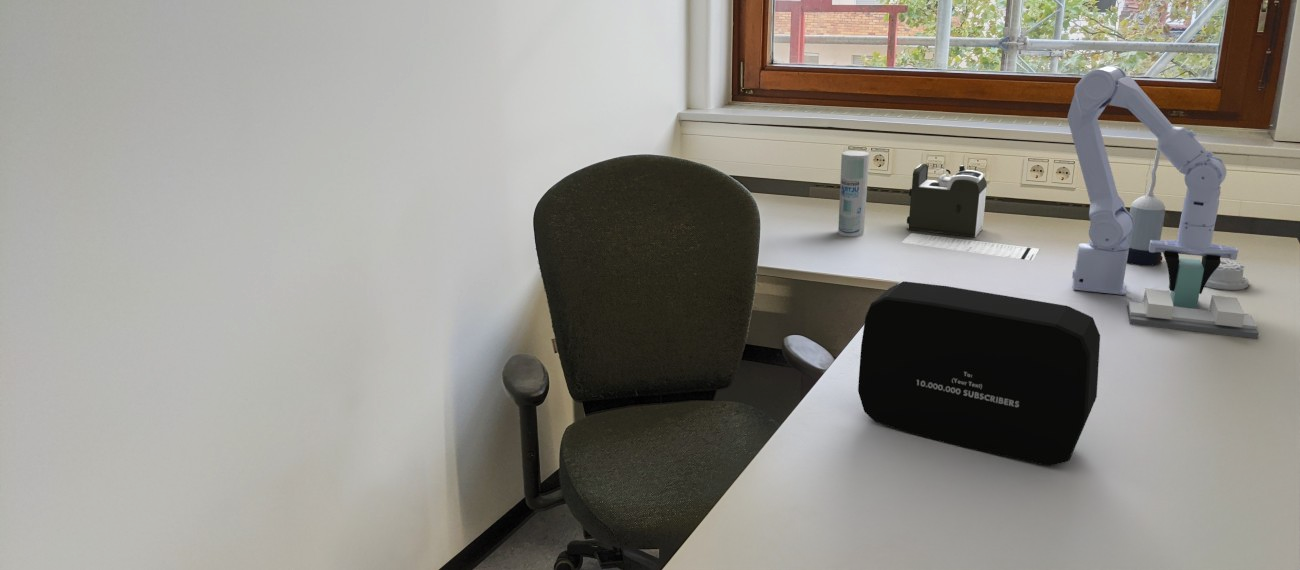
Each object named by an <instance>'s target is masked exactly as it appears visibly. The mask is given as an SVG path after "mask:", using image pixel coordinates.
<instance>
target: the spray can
mask: <svg viewBox="0 0 1300 570" xmlns="http://www.w3.org/2000/svg"><path fill="white" fill-rule="evenodd" d="M840 162H841V163H840V181H839V182H840V185H839V186H840V187H839V206H838V208H839V209H838V229H837V231H838V234H839V235H840V236H845V237H851V238H852V237H853V238H854V237H860V236H861V237H862V236H863V235H864V233H865V222H866V208H867V193H868V178H869V163H870V153H869V152H867V151H864V150H863V151H862V150H846V151H843V152H842V153H841V161H840Z"/></svg>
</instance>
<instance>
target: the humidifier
mask: <svg viewBox="0 0 1300 570" xmlns="http://www.w3.org/2000/svg"><path fill="white" fill-rule="evenodd" d="M1152 153H1153V151H1151V152H1150V156H1152ZM1160 155H1161V151H1160V150H1159V149H1158V148H1156V152H1155V158H1154V160H1153V166H1152V169H1151V163H1149V165H1148V166H1149V168H1148V171H1147V174H1146V176H1148V175H1149V173H1150V175H1151V176H1150V178H1151V179H1150V180H1151V181H1150V185H1149V189H1148V191H1147V186H1148V180H1146V181H1145V182H1146V183H1145V190H1144V195H1142V196H1140V197H1138V198H1136V199H1135V200H1134V201H1133V202H1132V203H1131V206H1130V209H1129V213H1130V214H1131V215H1132V217H1133V219H1134V224H1135V225H1134V229H1133V231H1132V233H1131V234H1130V235H1129V236H1127V241H1128V243H1129V245H1130V246H1129V252H1128V258H1127V264H1130V265H1135V266H1142V267H1143V266H1145V267H1151V266H1152V267H1154V266H1157V265H1160V264H1161V261H1163V260H1164V259H1163V257H1164V256H1163V255H1162V253H1163V252H1155V253H1153V252H1149V244H1150V240H1156V241H1161V239H1162V238H1161V237H1162V232H1163V227H1164V220H1165V214H1166V206H1165V204H1164V202H1163V201H1162V200H1161V199H1160V198H1158V197H1157V196H1155V194H1154V191H1155V190H1154V189H1155V187H1156V183H1157V173H1156V172H1157V169H1158V165H1159V160H1160ZM1151 160H1152V157H1150V158H1149V162H1151ZM1150 169H1151V172H1150Z"/></svg>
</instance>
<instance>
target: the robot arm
mask: <svg viewBox="0 0 1300 570" xmlns="http://www.w3.org/2000/svg"><path fill="white" fill-rule="evenodd" d="M1108 105H1109V106H1113V107H1119V108H1124V109H1127V110H1129V112H1131V113H1132V114H1133V116H1135V117H1136V118H1137V120H1139V121H1140V122H1141V123H1142V124H1143V125H1144V126H1145V127H1146V128H1147V130H1149V131H1150V132H1151V133H1152V134H1153V135H1154V136H1155V137H1156V138H1157V146H1156V147H1157V148H1158V149H1159V150H1160V154H1161V153H1162V155H1163V156H1164V157H1165V158H1166V159H1167V160H1168V161H1169V162H1170V163H1171V165H1172V166H1173V167H1174V168H1175V169H1176V170H1177V171H1178V172H1179V173H1180V174H1183V175H1184V183H1185V186H1186V192H1185V197H1183V202H1182V203H1183V204H1182V209H1181V213H1180V214H1181V216H1180V219H1179V220H1180V221H1179V226H1178V231H1177V232H1178V233H1177V238H1176V240H1160V241H1156V240H1150V244H1149V252H1153V253H1155V252H1161V253H1163V257H1164V260H1165V263H1166V267H1167V273H1168V280H1169V282H1168V283H1169V287H1168V289H1169V292H1171V291H1174V288H1175V282H1176V274H1177V269H1178V265H1179V258H1180V255H1188V256H1197V257H1201V263H1202V265H1203V268H1204V272H1203V277H1202V282H1201V288H1200V293H1199V295H1202V293H1203V290H1204V289H1205V287H1206V286H1205V284H1206V282H1207V281H1208V279H1209V277H1210V276H1211V275H1212V273H1213V272H1214V271H1215V270H1216V269H1217V268H1218V267H1219V265H1220V262H1221V261H1220V259H1229V260H1232V261H1236V260H1237V257H1238V253H1239V249H1238V247H1236V246H1235V247H1234V246H1227V245H1220V244H1214V243H1212V241H1213V237H1214V231H1215V227H1216V226H1215V225H1216V222H1217V216H1218V210H1219V205H1220V199H1219V198H1220V196H1221V184H1222V183H1224V181H1225V179H1226V176H1227V167H1226V165H1225V164H1224V163H1223V160H1222V159H1221V158H1219V157H1217V156H1214V155H1215V153H1214V152H1213V151H1212V150H1209V151H1208V150H1207V149H1206V148H1205V147H1204V146H1203V145H1202V143H1200V141H1198V140H1197V138H1196V136H1197V133H1196V132H1195V131H1194V130H1193V129H1191V130H1190V129H1189V130H1188V129H1187V128H1186V127H1185V126H1175V125H1173V124H1172V123H1171V122H1170V121H1169V120H1168V118H1167V117H1166V116H1165V115H1164V113H1162V111H1161V110H1160V109H1159V107H1157V105H1156V104H1155V103H1154V102H1153V100H1152V99H1151V98H1150V97H1149V96H1148V95H1147V93H1146V92H1144V91H1143V89H1142V87H1140V86H1139V84H1138V83H1137V82H1136V81H1135V80H1134V79H1133V78H1132V77H1131V76H1129V75H1126V72H1125V71H1124V70H1123V69H1122V68H1121V67H1120V66H1117V65H1111V64H1110V65H1105V66H1102V67H1100V68H1096V69H1092V70H1089V71H1088V72H1086V74H1084V75H1083V76H1082V77H1081V79H1080V80H1079V81H1078V83H1077V84H1076V85H1075V86H1074V94H1073V98H1072V101H1071V103H1070V107H1069V110H1068V114H1067V122H1068V126H1069V129H1070V133H1071V136H1072V140H1073V144H1074V149H1075V151H1076V155H1077V159H1078V162H1079V165H1080V170H1081V173H1082V174H1081V175H1082V177H1083V181H1084V184H1085V188H1086V192H1087V196H1088V198H1089V203H1090V204H1089V212H1088V217H1089V221H1090V222H1089V223H1090V225H1089V229H1088V237H1089V239H1090V240H1089V242H1086V243H1082V242H1081V243H1078V245H1077V246H1078V247H1077V251H1076V257H1075V258H1076V259H1075V264H1074V265H1075V266H1074V269H1073V270H1072V277H1071V279H1073V280H1072V281H1073V285H1072V286H1073V290H1074V291H1083V292H1091V293H1092V292H1093V293H1102V294H1110V295H1119V296H1120V295H1122V296H1125V295H1127V294H1126V293H1127V291H1126V285H1125V276H1126V270H1127V264H1128V263H1127V258H1128V252H1129V246H1130V245H1129V243H1128V241H1127V236H1129V235H1130V234H1131V233H1132V231H1133V229H1134V225H1135V224H1134V219H1133V217H1132V215H1131V214H1130V211H1128V210H1127V208H1126V206H1125V202H1124V201H1123V199H1122V198H1121V196H1119V193H1118V190H1117V186H1116V182H1115V179H1114V175H1113V172H1112V167H1111V165H1110V160H1109V157H1108V153H1107V150H1106V149H1107V148H1106V146H1105V142H1104V139H1103V133H1102V131H1101V127H1100V123H1099V120H1098V119H1099V117H1100V116H1101V114H1102V113H1104V111H1105V108H1106V107H1108ZM1157 148H1156V149H1157Z"/></svg>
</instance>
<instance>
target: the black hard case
mask: <svg viewBox="0 0 1300 570" xmlns="http://www.w3.org/2000/svg"><path fill="white" fill-rule="evenodd" d="M863 324H864V325H863V332H862V333H863V334H862V338H861V346H860V355H859V357H860V358H859V370H858V382H857V383H858V385H857V392H858V395H859V399H860V403H861V405H862V409H863V412H864V413H865V414H866V415H867V416H869V418H871V419H872V420H873V421H874V422H876V423H878V424H881V425H885V426H888V427H891V428H893V429H896V430H899V431H902V432H906V433H908V434H911V435H915V436H919V437H924V438H927V439H931V440H935V441H938V442H942V443H946V444H949V445H954V446H958V447H962V448H966V449H969V450H974V451H979V452H984V453H988V454H993V455H998V456H1002V457H1007V458H1011V459H1017V460H1021V461H1025V462H1031V463H1035V464H1039V465H1044V466H1049V467H1050V466H1055V465H1059V464H1062V463H1066V462H1069V461H1071V458H1072V455H1073V453H1074V450H1075V449H1076V446H1077V443H1078V442H1079V439H1080V437H1081V435H1082V432H1083V430H1084V427H1085V426H1086V424H1087V422H1088V421H1087V420H1088V418H1089V416H1090V413H1091V412H1092V410H1093V409H1092V408H1094V404H1095V402H1096V400H1097V397H1098V380H1099V365H1100V364H1099V363H1100V345H1101V334H1100V331H1099V329H1098V326H1097V324H1096V321H1095V320H1094V317H1093V316H1090V315H1089V314H1086V313H1084V312H1083V311H1079V310H1077V309H1075V308H1073V307H1071V306H1070V305H1069V306H1068V305H1066V304H1065V305H1064V304H1060V303H1052V302H1046V301H1040V300H1035V299H1027V298H1022V297H1017V296H1009V295H1003V294H997V293H992V292H991V293H990V292H984V291H979V290H973V289H972V290H971V289H966V288H961V287H960V288H959V287H954V286H948V285H942V284H941V285H940V284H939V285H937V284H933V283H932V284H929V283H923V282H922V283H920V282H913V281H901V282H899V283H897V284H896V285H893V286H891V287H889V288H888V289H887V290H886V291H884V292H883V293H882V294H881V295H879V296H878V297H877V298H876V299H874V301H872V302H871V303H870V305H869V308H868V310H867V312H866V315H865V319H864V323H863Z"/></svg>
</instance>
